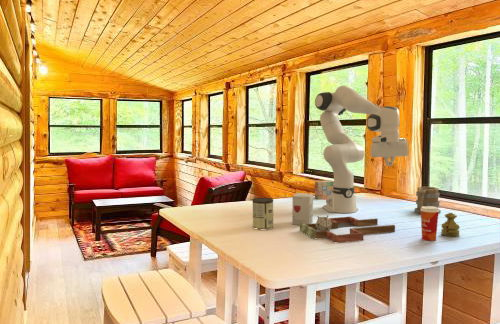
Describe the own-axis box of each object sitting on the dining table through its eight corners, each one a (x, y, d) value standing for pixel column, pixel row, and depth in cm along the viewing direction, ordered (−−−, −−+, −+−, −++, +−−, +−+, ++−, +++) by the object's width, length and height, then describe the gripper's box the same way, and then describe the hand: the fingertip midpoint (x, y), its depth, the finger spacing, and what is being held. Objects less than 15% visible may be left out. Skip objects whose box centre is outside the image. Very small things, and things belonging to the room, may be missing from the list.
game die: (326, 241, 196) (331, 227, 189) (309, 233, 198) (314, 220, 191) (333, 228, 202) (338, 214, 195) (316, 221, 204) (320, 207, 197)
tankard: (421, 209, 250) (421, 183, 248) (443, 212, 241) (443, 185, 240) (405, 214, 236) (406, 187, 235) (428, 217, 227) (429, 190, 226)
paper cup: (416, 237, 188) (416, 206, 187) (432, 236, 189) (433, 205, 187) (424, 241, 180) (425, 209, 179) (442, 241, 181) (443, 209, 180)
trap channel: (293, 227, 209) (293, 219, 208) (367, 220, 220) (367, 213, 220) (321, 244, 178) (321, 234, 178) (406, 235, 190) (406, 227, 190)
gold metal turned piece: (458, 237, 186) (459, 215, 185) (440, 235, 190) (440, 213, 189) (460, 234, 193) (460, 212, 192) (442, 232, 196) (443, 210, 196)
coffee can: (256, 224, 214) (256, 197, 213) (275, 226, 211) (275, 198, 210) (249, 229, 205) (249, 200, 204) (270, 230, 201) (269, 201, 200)
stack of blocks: (343, 197, 294) (343, 179, 293) (347, 198, 288) (347, 180, 287) (314, 198, 289) (314, 180, 288) (317, 200, 283) (318, 181, 282)
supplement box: (291, 224, 213) (291, 195, 212) (296, 220, 222) (296, 192, 221) (309, 226, 210) (309, 196, 209) (313, 222, 219) (313, 193, 217)
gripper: (403, 137, 220) (402, 164, 221) (368, 138, 214) (368, 165, 215) (411, 138, 214) (410, 165, 215) (376, 138, 208) (375, 166, 209)
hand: (389, 165), depth 215 cm, fingers closed
